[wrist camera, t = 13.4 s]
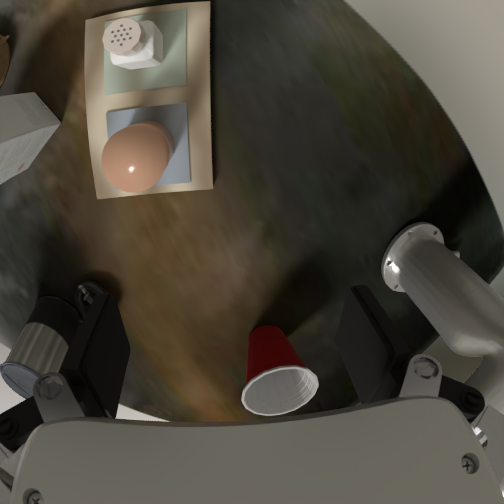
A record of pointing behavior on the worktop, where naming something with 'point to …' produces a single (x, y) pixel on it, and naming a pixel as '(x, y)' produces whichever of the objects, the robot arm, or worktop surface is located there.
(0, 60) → the alarm clock
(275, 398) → the plastic cup
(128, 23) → the salt shaker
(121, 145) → the peach rounded cylinder
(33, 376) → the milk frother
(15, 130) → the small box
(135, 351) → the worktop surface
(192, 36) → the board
